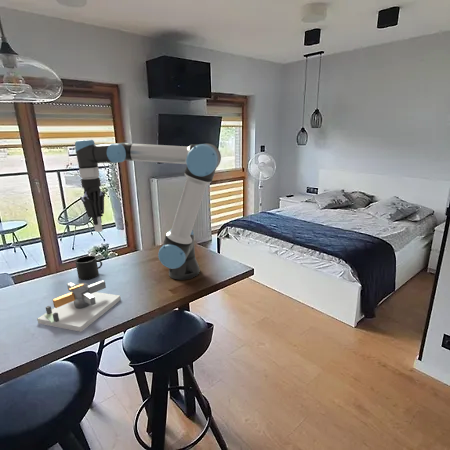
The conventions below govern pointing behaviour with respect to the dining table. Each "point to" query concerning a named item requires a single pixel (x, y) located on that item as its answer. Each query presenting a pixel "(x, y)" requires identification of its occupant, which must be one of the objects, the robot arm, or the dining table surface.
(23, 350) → the dining table surface
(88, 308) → the stand plate
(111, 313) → the dining table surface
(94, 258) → the mug
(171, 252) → the robot arm
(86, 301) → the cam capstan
